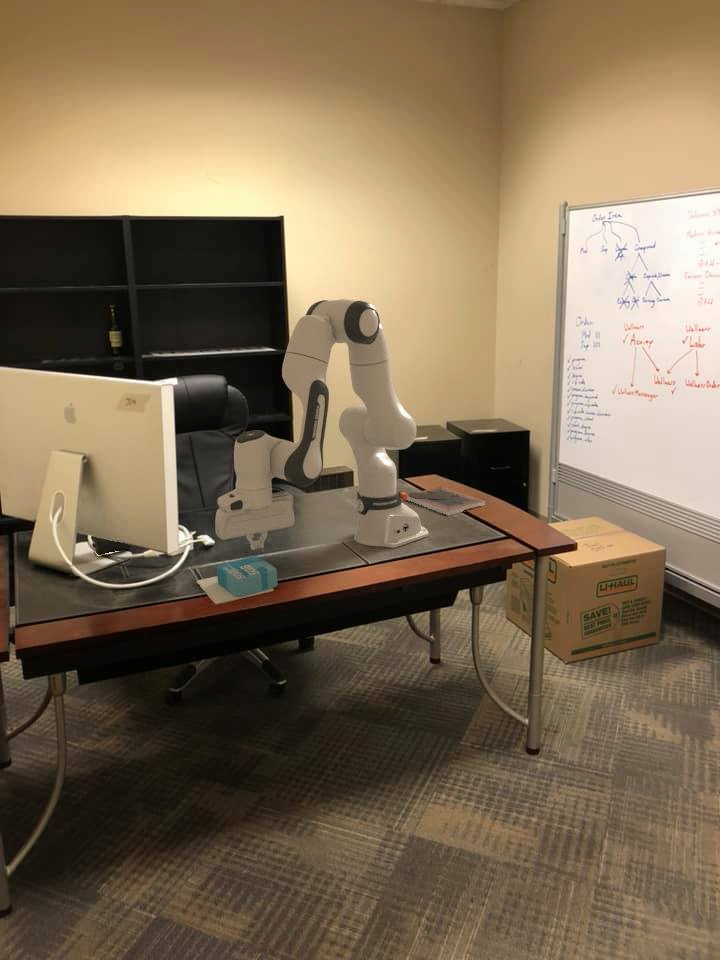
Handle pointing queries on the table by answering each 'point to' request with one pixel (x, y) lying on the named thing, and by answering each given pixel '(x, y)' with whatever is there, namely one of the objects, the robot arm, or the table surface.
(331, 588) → the table surface
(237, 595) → the blue box
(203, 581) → the grey pad
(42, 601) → the table surface
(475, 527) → the table surface
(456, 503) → the picture frame
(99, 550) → the end cap
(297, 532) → the table surface
